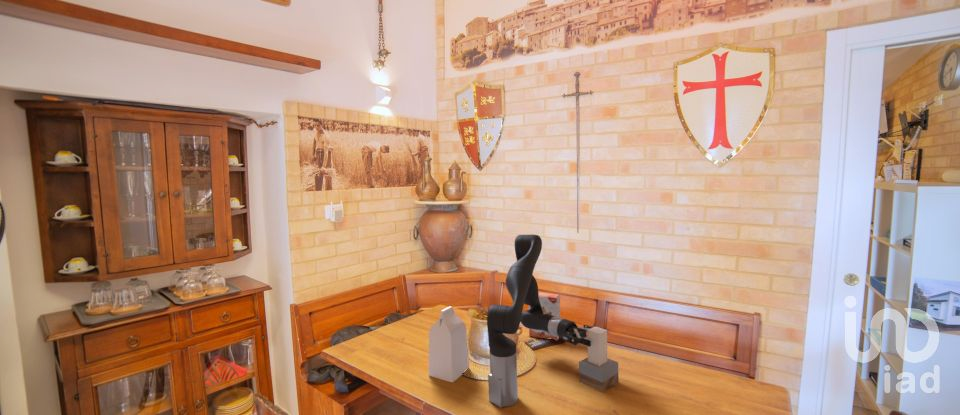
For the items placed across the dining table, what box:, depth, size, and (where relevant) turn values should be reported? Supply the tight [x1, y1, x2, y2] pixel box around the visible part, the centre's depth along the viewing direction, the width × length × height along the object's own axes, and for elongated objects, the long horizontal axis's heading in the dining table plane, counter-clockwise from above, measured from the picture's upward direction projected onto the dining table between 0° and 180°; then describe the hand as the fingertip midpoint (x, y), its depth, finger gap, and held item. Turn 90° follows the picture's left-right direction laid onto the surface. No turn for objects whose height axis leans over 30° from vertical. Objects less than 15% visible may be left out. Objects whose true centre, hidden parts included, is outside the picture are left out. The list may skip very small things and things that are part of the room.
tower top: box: [578, 356, 619, 382], centre depth 144 cm, size 10×10×4 cm
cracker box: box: [528, 291, 561, 342], centre depth 186 cm, size 14×6×21 cm, turn 62°
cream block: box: [586, 326, 608, 366], centre depth 144 cm, size 5×5×12 cm
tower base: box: [578, 371, 619, 393], centre depth 145 cm, size 10×10×4 cm
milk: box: [428, 305, 470, 384], centre depth 155 cm, size 12×12×26 cm
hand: (597, 340), depth 143 cm, fingers open, 8 cm apart
